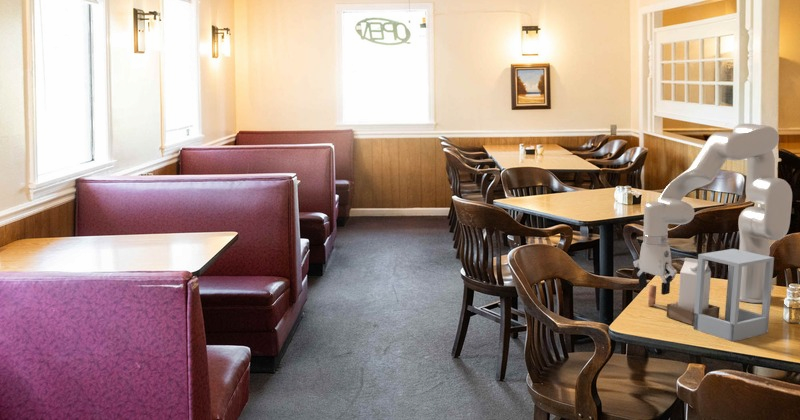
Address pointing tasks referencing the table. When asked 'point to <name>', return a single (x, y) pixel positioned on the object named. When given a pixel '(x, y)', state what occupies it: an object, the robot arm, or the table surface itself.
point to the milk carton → (692, 285)
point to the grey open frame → (734, 297)
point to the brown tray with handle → (681, 309)
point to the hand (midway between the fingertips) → (653, 290)
